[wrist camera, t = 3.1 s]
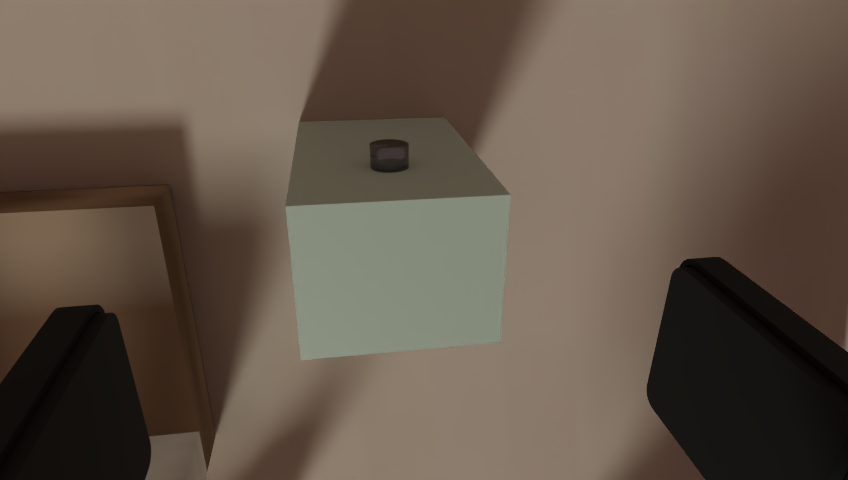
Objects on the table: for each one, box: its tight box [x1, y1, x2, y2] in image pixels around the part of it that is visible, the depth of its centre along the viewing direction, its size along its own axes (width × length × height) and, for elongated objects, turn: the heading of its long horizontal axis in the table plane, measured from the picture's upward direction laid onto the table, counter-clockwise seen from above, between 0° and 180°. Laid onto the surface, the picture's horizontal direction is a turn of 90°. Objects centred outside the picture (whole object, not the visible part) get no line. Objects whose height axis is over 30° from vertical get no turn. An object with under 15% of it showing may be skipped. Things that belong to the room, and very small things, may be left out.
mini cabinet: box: [286, 117, 511, 360], centre depth 17 cm, size 5×5×8 cm
